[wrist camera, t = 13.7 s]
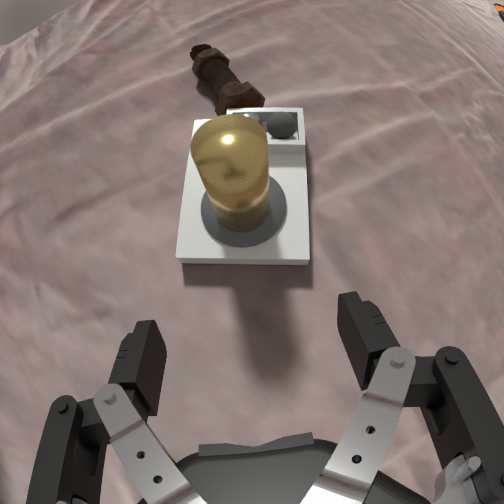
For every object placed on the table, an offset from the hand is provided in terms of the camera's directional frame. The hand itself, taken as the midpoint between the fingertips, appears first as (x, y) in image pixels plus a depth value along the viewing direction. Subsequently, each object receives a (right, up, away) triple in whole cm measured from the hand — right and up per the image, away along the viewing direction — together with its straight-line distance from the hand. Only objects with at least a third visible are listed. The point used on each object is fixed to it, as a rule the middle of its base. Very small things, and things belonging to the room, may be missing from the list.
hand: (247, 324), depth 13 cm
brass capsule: (-1, +7, +16) cm, 17 cm away
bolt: (-4, +25, +24) cm, 35 cm away
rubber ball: (+3, +16, +17) cm, 23 cm away
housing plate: (0, +10, +19) cm, 21 cm away
